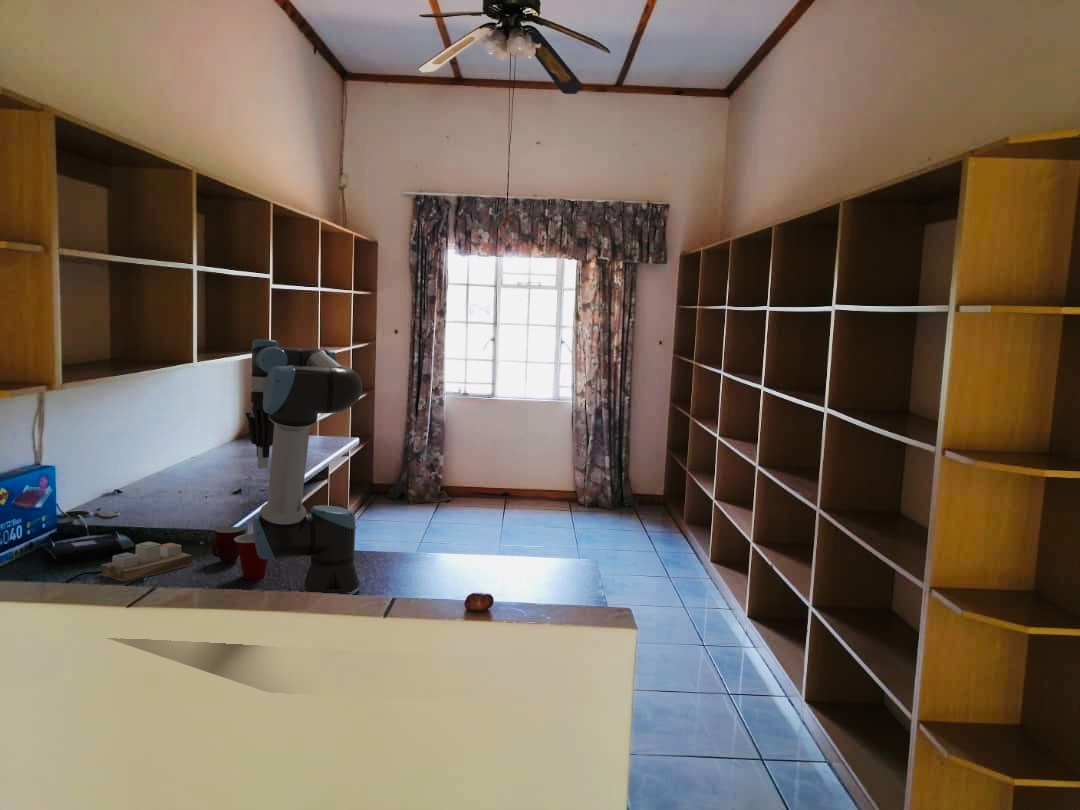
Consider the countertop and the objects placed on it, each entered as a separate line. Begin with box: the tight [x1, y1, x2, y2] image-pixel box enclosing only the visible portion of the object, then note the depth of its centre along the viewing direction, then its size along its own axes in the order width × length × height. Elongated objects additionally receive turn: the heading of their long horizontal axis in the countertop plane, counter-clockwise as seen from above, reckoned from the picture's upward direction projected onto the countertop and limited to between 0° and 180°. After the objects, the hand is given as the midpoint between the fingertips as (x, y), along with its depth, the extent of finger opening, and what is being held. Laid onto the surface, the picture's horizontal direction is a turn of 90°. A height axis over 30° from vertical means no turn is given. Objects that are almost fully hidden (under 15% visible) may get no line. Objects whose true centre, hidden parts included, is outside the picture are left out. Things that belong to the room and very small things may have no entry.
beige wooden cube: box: [135, 541, 161, 564], centre depth 223 cm, size 5×5×5 cm
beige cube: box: [160, 542, 182, 558], centre depth 229 cm, size 5×5×5 cm
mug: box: [211, 526, 244, 564], centre depth 233 cm, size 11×8×10 cm
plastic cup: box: [234, 532, 269, 580], centre depth 221 cm, size 11×11×12 cm
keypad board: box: [100, 552, 193, 583], centre depth 223 cm, size 11×21×3 cm, turn 152°
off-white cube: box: [111, 552, 138, 569], centre depth 216 cm, size 5×5×5 cm
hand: (262, 467), depth 233 cm, fingers closed
